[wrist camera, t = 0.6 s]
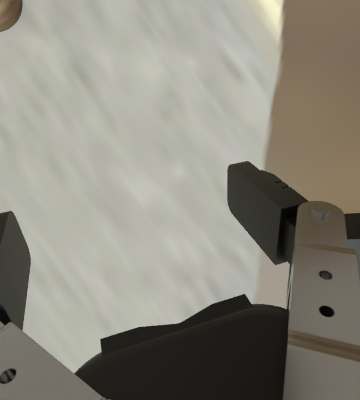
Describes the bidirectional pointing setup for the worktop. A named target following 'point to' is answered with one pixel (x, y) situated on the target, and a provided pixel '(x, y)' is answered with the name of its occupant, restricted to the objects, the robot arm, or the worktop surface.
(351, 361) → the robot arm
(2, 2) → the bead column
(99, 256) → the worktop surface
